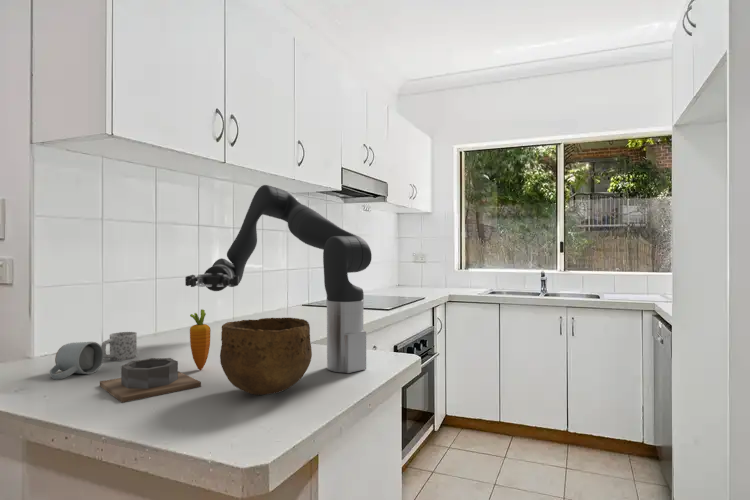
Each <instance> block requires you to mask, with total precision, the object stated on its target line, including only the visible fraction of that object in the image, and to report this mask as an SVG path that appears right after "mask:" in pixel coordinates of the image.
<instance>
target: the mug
mask: <svg viewBox="0 0 750 500" xmlns="http://www.w3.org/2000/svg"><path fill="white" fill-rule="evenodd" d="M137 337H138V335H137V332H135V331H120V332H115V333H110V334H109V338H108V339H106V340H104V341H102V343H101V345H100V346H101V347H102V349H103V354H104V357H103V360H104V359H105V360H106V359H107V360H108V359H109V360H110V361H126V360H132V359H135V358H137V355H138V353H137V349H138V348H137V344H138V343H137V340H138V339H137ZM108 344H109V354H107V352H106V351H107V350H106V349H107V345H108Z"/></svg>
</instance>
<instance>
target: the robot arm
mask: <svg viewBox="0 0 750 500" xmlns="http://www.w3.org/2000/svg"><path fill="white" fill-rule="evenodd" d="M262 215H264V216H267V217H270V218H271V217H272V218H274V219H279V220H282V221H284V222H286V223H287V227H288V229H289V232H290V233H291V235H293V236H294V237H296V239H298V240H299V241H300V242H302V243H303V244H305V245H308V246H310V247H313V248H316V249H320V250H323V252H322V263H323V264H322V265H323V281H324V282H323V283H324V289H325V294H326V369H327V370H328V371H330V372H334V373H346V374H350V373H355V372H359V371H364V370H367V331H366V330H364V290H363V288H362V287H359V286H357V285H355V284H353V283H352V282H351V281H350V280H349V276H348V275H349V274H350V273H359V272H362V271H365V270H366V269H367V268H368V267H369V266H370V264H371V262H372V250H371V247H370V246H369V244H368V242H367V241H366V240H365V239H364V238H362V237H361V236H358V235H356V234H354V233H352V232H349V231H347V230H345V229H344V228H341V227H339V225H337V224H335V223H334V222H332V221H331V220H330V219H327V218H326V217H325V216H323V215H322V214H321V213H319V212H317V210H314V209H312V208H311V207H309V206H307V205H305V204H303V203H301V202H299V200H297V199H296V197H295V196H293V195H292V194H291V193H290V192H289V191H286V190H285V189H282V188H279V187H275V186H271V185H269V184H262V185H261V186H260V187H259V188H258V189H257V190H256V191H255V193H254V195H253V198H252V200H251V202H250V204H249V207H248V209H247V212H246V214H245V216H244V219H243V223H242V225H241V227H240V228H239V229H240V230H239V232H238V233H237V235H236V236H235V238H234V240H233V242H232V243H231V245H230V247H229V249H228V250H227V252H226V257H227V259H228V260H227V259H225V258H219V259H218V258H217V260H215V262H214V263H212V265H211V266H210V267H208V268H207V269H206V270H205V271H204V273H202V274H198V275H197V276H196V275H195V274H191V275H187V276H185V286H186V287H189V286H190V287H191V288H195V287H196V286H197V287H200V288H201V287H202V288H203V287H206V288H207V289H208V290H210V291H212V292H220V291H222V290H225V289H226V288H227V287H229V288H235V287H237V286H239V284H240V283H241V281H242V278H243V277H244V272H245V267H246V265H247V262H248V261H249V259H250V257H251V256H252V254H253V252H254V251H255V249H256V247H257V244H258V233H257V232H258V230H257V224H258V221H259V219H260V218H261V217H262Z"/></svg>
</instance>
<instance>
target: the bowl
mask: <svg viewBox="0 0 750 500" xmlns="http://www.w3.org/2000/svg"><path fill="white" fill-rule="evenodd" d="M310 333H311V326H310V323H309V322H308V320H305V319H304V318H297V317H264V318H263V317H262V318H259V319H241V320H235V321H227V322H226V323H223V324H222V326H221V333H220V335H221V337H220V338H221V340H220V341H221V346H220V354H219V363H220V365H221V368H222V371H223V373H224V375H225V376H226V378H227V380H228V381H229V382H230V383H231V384H232V386H233V387H236V388H237V389H239V390H241V391H243V392H245V393H247V394H250V395H255V396H265V395H272V394H278V393H281V392H283V391H285V390H287V389H290V388H291V387H292V386H294V385H295V384H297V383H298V382H299V381H300V380H301V379H302V378H303V377H304V375H305V374H306V372H307V370H308V368H309V366H310V364H311V361H312V356H313V352H312V351H313V350H312V344H311V334H310Z"/></svg>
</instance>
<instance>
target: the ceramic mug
mask: <svg viewBox="0 0 750 500" xmlns="http://www.w3.org/2000/svg"><path fill="white" fill-rule="evenodd" d="M101 346H102V345H100V343H98V342H97V341H84V342H83V341H82V342H81V341H80V342H77V341H76V342H70V343H69V342H68V343H66V344H63V345H61V346H60V347H59V349H58V350H57V352H56V353H55V358H54V359H55V360H54V362H55V365H54V366H53V367H52V368H50V370H49V375H50V377H51V378H52V379H53V380H62V379H65V378H68V377H69V376H71V375H73V374H80V375H92V374H94V373H96V372H97V371H99V369H100V368H101V366H102V364H103V362H104V358H103V357H104V354H103V349H102V347H101ZM58 371H61V372H59V373H57V372H58Z"/></svg>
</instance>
